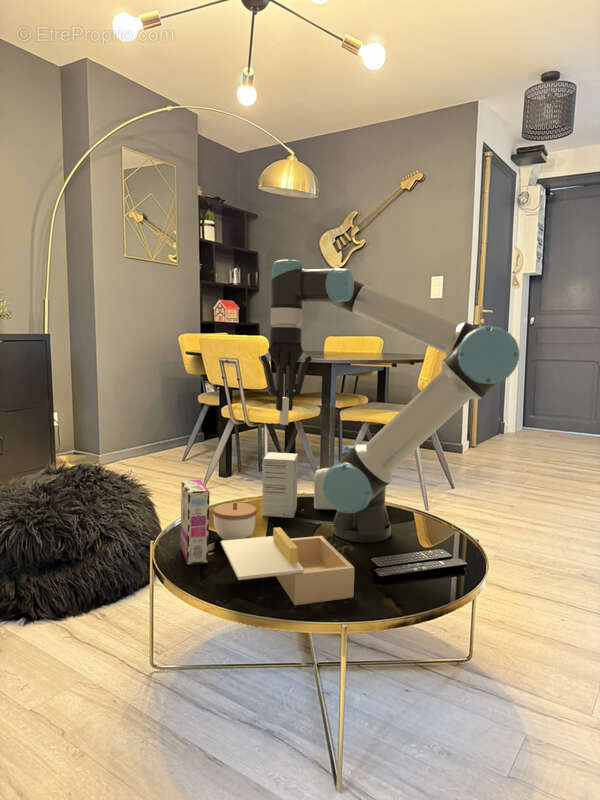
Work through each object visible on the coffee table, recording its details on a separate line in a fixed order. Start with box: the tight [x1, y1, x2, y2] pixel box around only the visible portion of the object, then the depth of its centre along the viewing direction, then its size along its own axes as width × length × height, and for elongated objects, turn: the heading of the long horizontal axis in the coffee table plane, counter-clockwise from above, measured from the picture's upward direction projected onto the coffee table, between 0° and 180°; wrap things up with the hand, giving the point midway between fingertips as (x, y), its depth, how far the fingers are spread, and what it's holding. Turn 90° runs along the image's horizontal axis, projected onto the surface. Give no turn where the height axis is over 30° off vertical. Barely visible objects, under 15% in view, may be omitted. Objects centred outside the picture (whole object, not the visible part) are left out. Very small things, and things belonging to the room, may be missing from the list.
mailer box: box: [275, 535, 355, 606], centre depth 110 cm, size 12×18×6 cm, turn 18°
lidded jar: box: [212, 501, 257, 541], centre depth 133 cm, size 11×11×9 cm
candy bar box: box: [180, 479, 210, 566], centre depth 122 cm, size 11×5×16 cm, turn 21°
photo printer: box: [313, 467, 336, 510], centre depth 160 cm, size 10×4×12 cm, turn 88°
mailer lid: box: [220, 526, 304, 581], centre depth 106 cm, size 12×18×4 cm
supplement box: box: [261, 451, 299, 519], centre depth 155 cm, size 10×9×17 cm
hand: (283, 423), depth 130 cm, fingers closed
